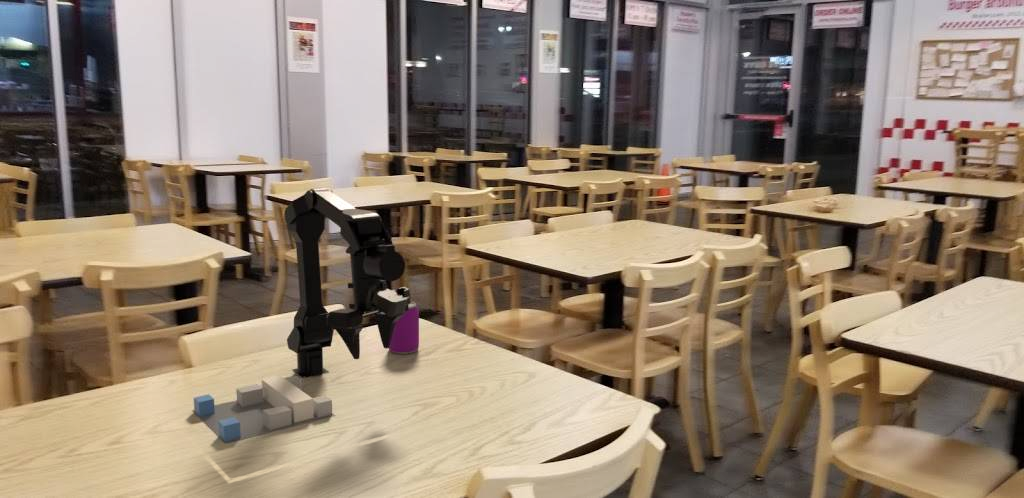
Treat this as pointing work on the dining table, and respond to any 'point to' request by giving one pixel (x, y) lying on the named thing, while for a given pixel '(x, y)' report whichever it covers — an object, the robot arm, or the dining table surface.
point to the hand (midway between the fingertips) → (371, 353)
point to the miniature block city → (253, 413)
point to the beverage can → (406, 332)
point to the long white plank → (288, 397)
